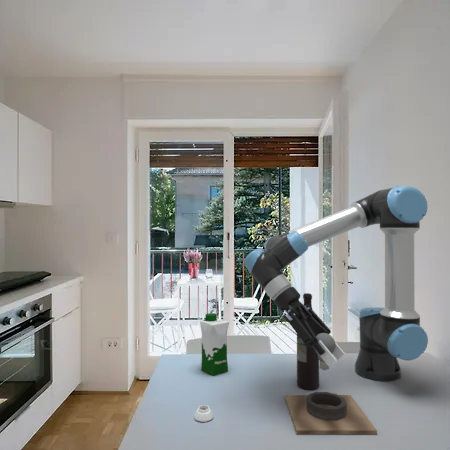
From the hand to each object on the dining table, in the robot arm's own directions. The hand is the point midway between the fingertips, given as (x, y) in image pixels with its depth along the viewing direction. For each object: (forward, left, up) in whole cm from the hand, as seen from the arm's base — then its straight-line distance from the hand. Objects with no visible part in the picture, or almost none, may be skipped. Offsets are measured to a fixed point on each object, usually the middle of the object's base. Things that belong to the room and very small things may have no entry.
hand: (337, 360), depth 101 cm
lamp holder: (+3, -2, -16) cm, 16 cm away
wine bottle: (+4, -21, -16) cm, 27 cm away
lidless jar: (+36, 0, -16) cm, 40 cm away
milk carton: (+35, -34, -16) cm, 51 cm away
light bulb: (+3, -2, -4) cm, 5 cm away
